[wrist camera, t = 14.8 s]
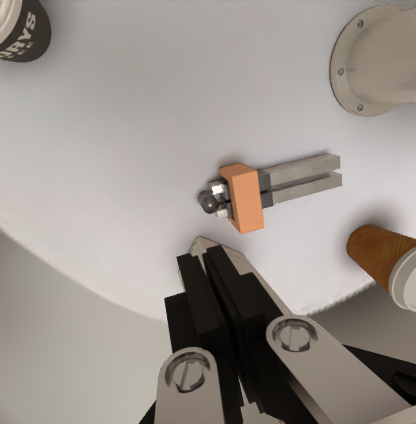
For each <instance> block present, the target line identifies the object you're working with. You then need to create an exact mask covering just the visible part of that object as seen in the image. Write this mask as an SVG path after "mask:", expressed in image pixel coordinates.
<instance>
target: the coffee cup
mask: <svg viewBox="0 0 416 424" xmlns="http://www.w3.org/2000/svg"><path fill="white" fill-rule="evenodd" d="M50 39H51V27H50V22H49V19H48V16H47V14H46V12H45V10H44V9H43V7H42V5H41V4H40V2H39V0H0V59H2V60H8V61H14V62H30V61H33V60H36V59H37V58H39V57H40V56H42V55H43V54H44V53H45V51H46V50H47V48H48V46H49V43H50Z"/></svg>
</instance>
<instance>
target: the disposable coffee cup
mask: <svg viewBox="0 0 416 424" xmlns="http://www.w3.org/2000/svg"><path fill="white" fill-rule="evenodd" d="M347 253H348V255H349V256H350V257H351V258H352V259H353V260H354V261H355V262H356V263H357V264H358V265H359V266H360V267H361V268H363V269H364V270H365V271H366V272H367V273H368V274H369V275H370V276H371V277H372V278H373V279H374V280H375V281H376V282H378V283H379V284H380V285H381V286H382V287H383V288H384V289H385V290H386V291H387V292H388V293H389V294H390V295H391V297H392V298H393V300H394V302H395V303H396V304H397V305H398V306H400V307H401V308H404V309H410V310H412V311H415V312H416V239H414V238H411V237H408V236H404V235H400V234H398V233H395V232H392V231H389V230H386V229H382V228H379V227H376V226H373V225H364V226H362V227H360V228H358V229H357V230H356V231H354V232H353V234H352V235H351V236H350V238H349V240H348V243H347Z"/></svg>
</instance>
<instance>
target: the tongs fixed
mask: <svg viewBox="0 0 416 424" xmlns="http://www.w3.org/2000/svg"><path fill="white" fill-rule="evenodd" d="M339 168H340V156H337V155H332V154H328V153H326V154H322V155H318V156H314V157H310V158H306V159H302V160H298V161H294V162H290V163H286V164H282V165H278V166H274V167H270V168H266V169H257V174H258V182H259V190H260V191H263V190H267V189H271V188H272V187H271V186H273V185H277V184H281V183H285V182H288V181H292V180H296V179H300V178H304V177H308V176H312V175H316V174H319V173H323V172H327V171H331V170H335V169H339ZM208 185H209V190H210V191H211V192H212V194H217V193H220V194H221V195H222V196H223V197H224V198H225V199H226V200H228V199H231V196H230V190H229V184H228V180H226V179H225V178H221V179H217V181H214V182H210V183H208ZM212 194H211V193H210V192H208V191H204V192H201V193H200V194H199V196H198V202H199V204H200V205H201V207H202V208H203V210H204V211H205V212H206V213H209V214H212V213H214V212H216V211H217V210H218V208H219V203H218V201H217V200H216V199H215V198H214V196H213V195H212Z"/></svg>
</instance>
